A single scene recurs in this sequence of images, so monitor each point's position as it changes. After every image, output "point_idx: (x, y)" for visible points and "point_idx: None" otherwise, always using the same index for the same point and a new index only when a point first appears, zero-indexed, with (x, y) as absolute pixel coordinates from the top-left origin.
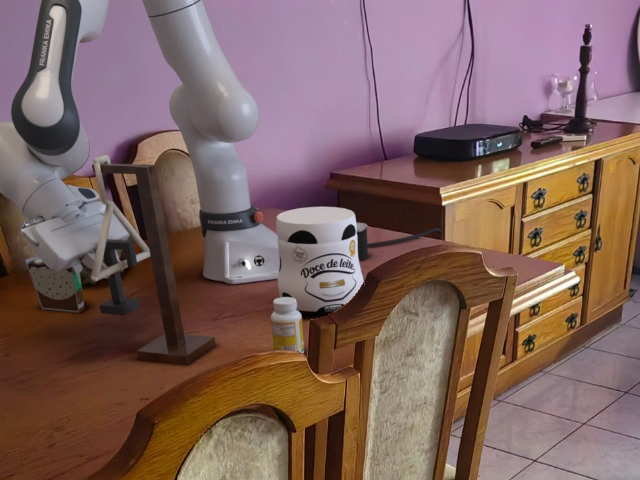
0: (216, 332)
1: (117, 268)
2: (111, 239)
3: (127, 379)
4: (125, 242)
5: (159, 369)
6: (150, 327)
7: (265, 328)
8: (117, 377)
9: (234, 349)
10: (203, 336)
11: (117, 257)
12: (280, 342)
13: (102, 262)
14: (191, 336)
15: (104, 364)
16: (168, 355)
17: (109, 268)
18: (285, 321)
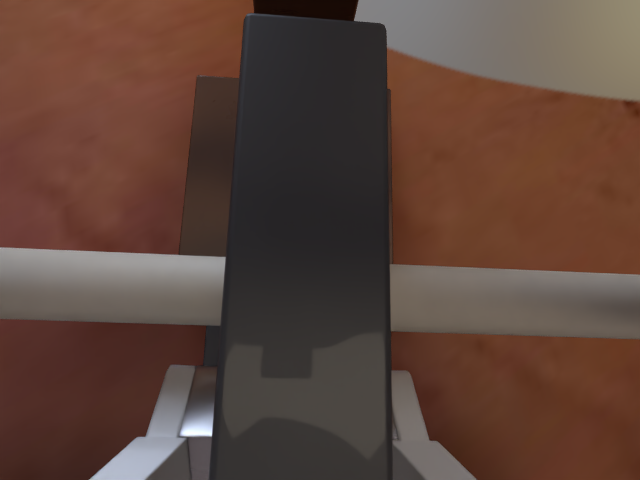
0: (67, 144)
1: (425, 267)
2: (222, 427)
3: (540, 225)
4: (356, 73)
5: (439, 170)
6: (36, 439)
7: (6, 3)
8: (538, 264)
9: (223, 26)
10: (199, 112)
11: (140, 448)
12: None
13: (413, 464)
14: (206, 154)
15: (460, 378)
16: (390, 152)
17: (528, 283)
18: None
